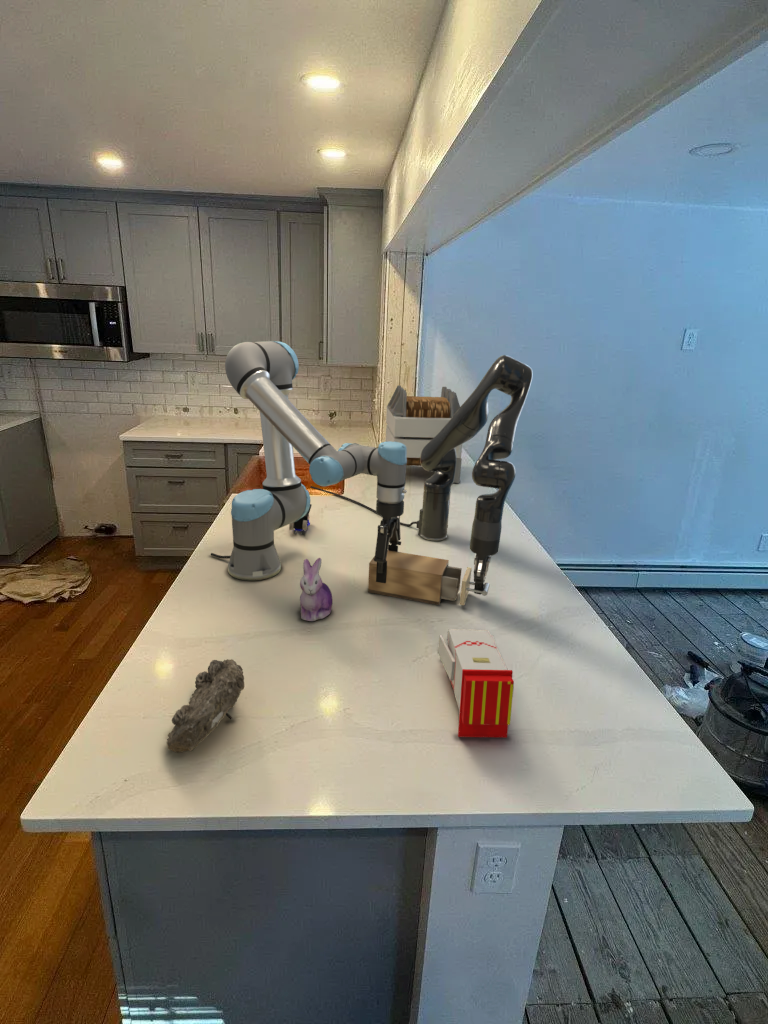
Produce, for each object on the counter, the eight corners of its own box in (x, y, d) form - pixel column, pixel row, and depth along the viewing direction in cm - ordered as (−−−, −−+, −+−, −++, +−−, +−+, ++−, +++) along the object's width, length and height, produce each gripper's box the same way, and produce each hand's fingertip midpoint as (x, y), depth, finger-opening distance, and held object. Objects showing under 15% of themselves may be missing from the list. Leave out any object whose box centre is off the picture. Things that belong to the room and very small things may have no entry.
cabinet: (446, 588, 162) (448, 559, 159) (439, 605, 153) (441, 575, 150) (378, 576, 167) (380, 548, 164) (367, 592, 158) (369, 562, 155)
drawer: (489, 594, 158) (491, 571, 156) (484, 609, 150) (487, 585, 148) (404, 579, 165) (405, 556, 162) (395, 593, 156) (396, 569, 154)
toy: (488, 613, 130) (523, 677, 101) (484, 667, 133) (517, 744, 104) (435, 612, 130) (455, 676, 101) (432, 666, 133) (451, 743, 103)
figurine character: (308, 540, 194) (312, 520, 207) (307, 521, 190) (312, 501, 204) (288, 540, 194) (294, 519, 207) (287, 520, 190) (293, 501, 204)
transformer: (382, 463, 289) (386, 382, 275) (445, 464, 293) (451, 384, 279) (390, 482, 257) (394, 392, 243) (460, 483, 261) (468, 394, 247)
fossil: (192, 660, 117) (244, 628, 112) (224, 691, 120) (276, 661, 115) (142, 746, 98) (202, 712, 93) (182, 779, 101) (242, 748, 96)
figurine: (305, 626, 140) (305, 571, 134) (291, 607, 148) (291, 554, 143) (340, 618, 144) (341, 564, 139) (325, 600, 152) (325, 549, 147)
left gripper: (391, 515, 142) (388, 594, 149) (414, 489, 162) (409, 560, 170) (363, 511, 144) (361, 589, 151) (389, 486, 164) (385, 556, 172)
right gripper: (497, 546, 141) (488, 607, 147) (503, 527, 153) (494, 584, 159) (467, 541, 143) (460, 601, 149) (475, 523, 155) (468, 579, 161)
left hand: (386, 573), depth 160 cm, fingers closed on cabinet, 10 cm apart
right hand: (478, 592), depth 154 cm, fingers closed
